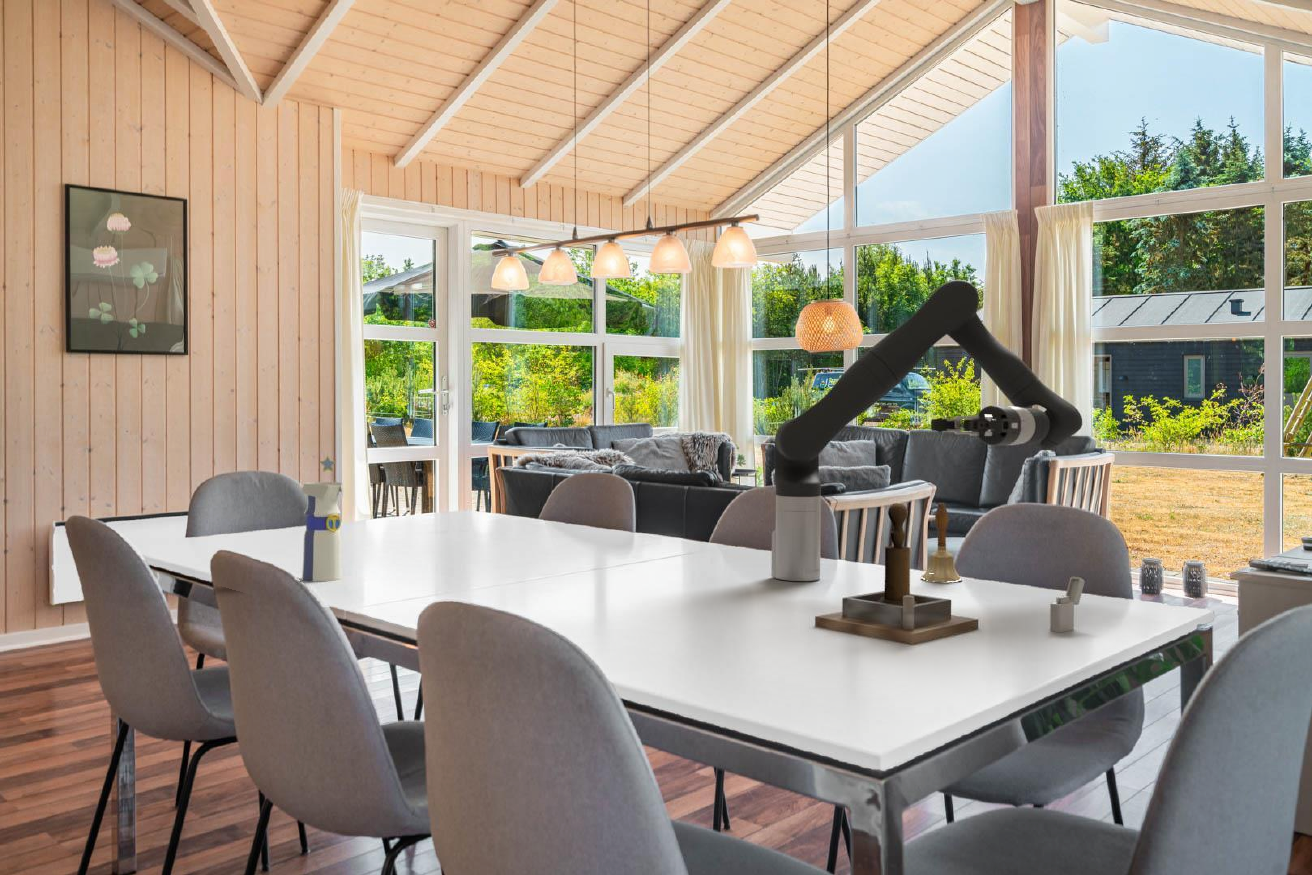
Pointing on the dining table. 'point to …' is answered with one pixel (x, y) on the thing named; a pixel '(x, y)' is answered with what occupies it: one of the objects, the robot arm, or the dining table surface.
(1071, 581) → the lighter
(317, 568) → the cream gift bag
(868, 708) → the dining table surface
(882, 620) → the collar plate
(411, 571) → the dining table surface
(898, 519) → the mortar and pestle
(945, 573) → the hand bell
